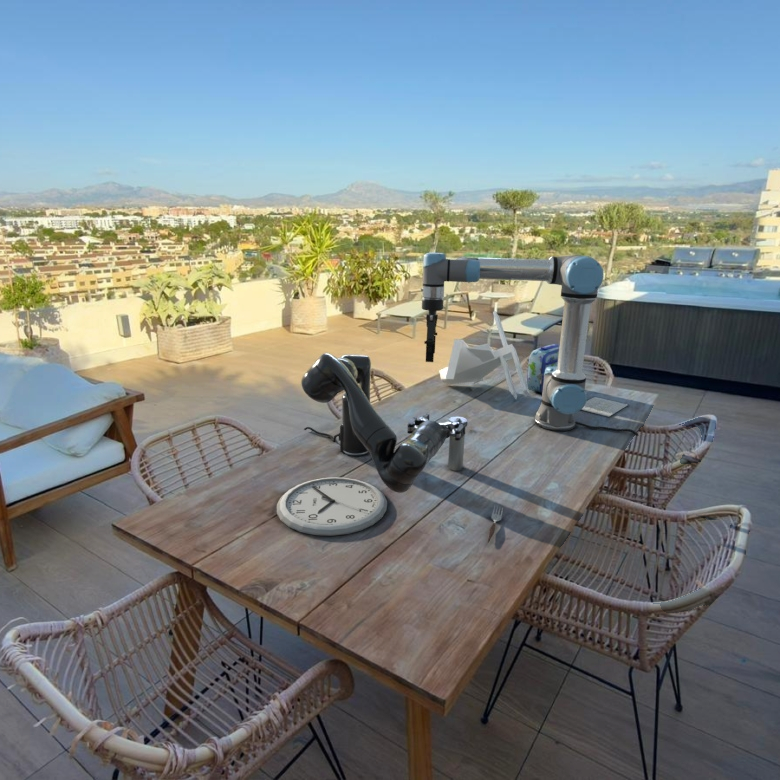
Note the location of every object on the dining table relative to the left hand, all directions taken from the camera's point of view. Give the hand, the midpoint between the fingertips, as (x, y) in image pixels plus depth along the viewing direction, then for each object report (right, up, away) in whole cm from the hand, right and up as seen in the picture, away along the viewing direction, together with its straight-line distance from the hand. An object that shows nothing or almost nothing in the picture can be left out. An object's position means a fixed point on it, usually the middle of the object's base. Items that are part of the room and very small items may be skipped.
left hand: (443, 419), depth 141 cm
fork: (+12, -27, -7) cm, 31 cm away
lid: (+7, -2, +21) cm, 22 cm away
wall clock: (-30, -24, +2) cm, 38 cm away
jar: (+6, -17, +26) cm, 32 cm away
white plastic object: (+27, +7, +103) cm, 106 cm away
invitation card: (+77, +1, +86) cm, 115 cm away
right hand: (0, +20, +49) cm, 53 cm away
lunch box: (+61, +8, +110) cm, 126 cm away
